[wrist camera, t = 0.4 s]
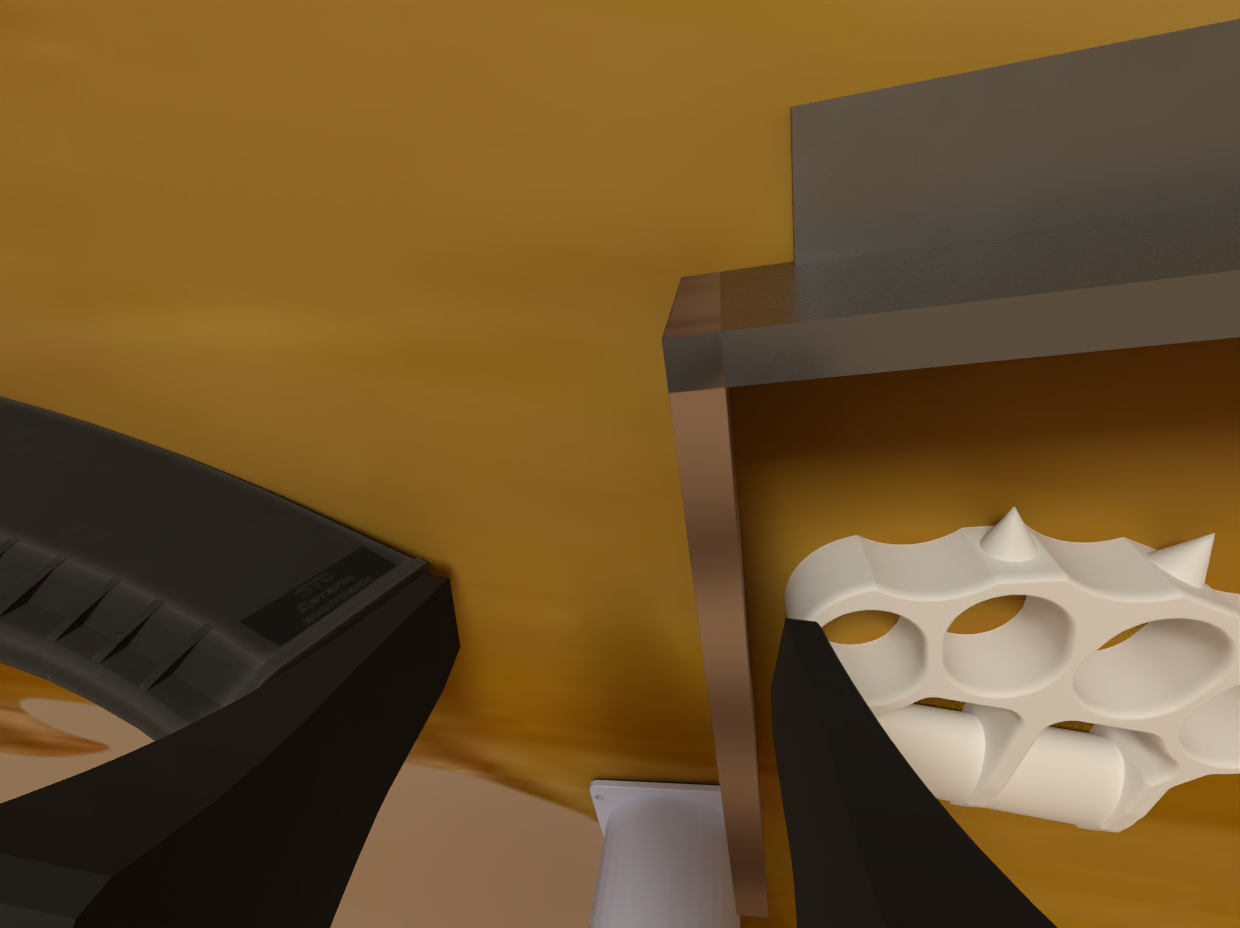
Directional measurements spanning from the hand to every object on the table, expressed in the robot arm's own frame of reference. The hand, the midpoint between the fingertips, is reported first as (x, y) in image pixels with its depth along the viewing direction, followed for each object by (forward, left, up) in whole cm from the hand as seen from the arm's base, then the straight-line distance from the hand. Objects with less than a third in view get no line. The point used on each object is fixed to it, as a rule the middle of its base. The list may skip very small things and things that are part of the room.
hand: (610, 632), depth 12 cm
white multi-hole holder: (-11, -13, -10) cm, 20 cm away
